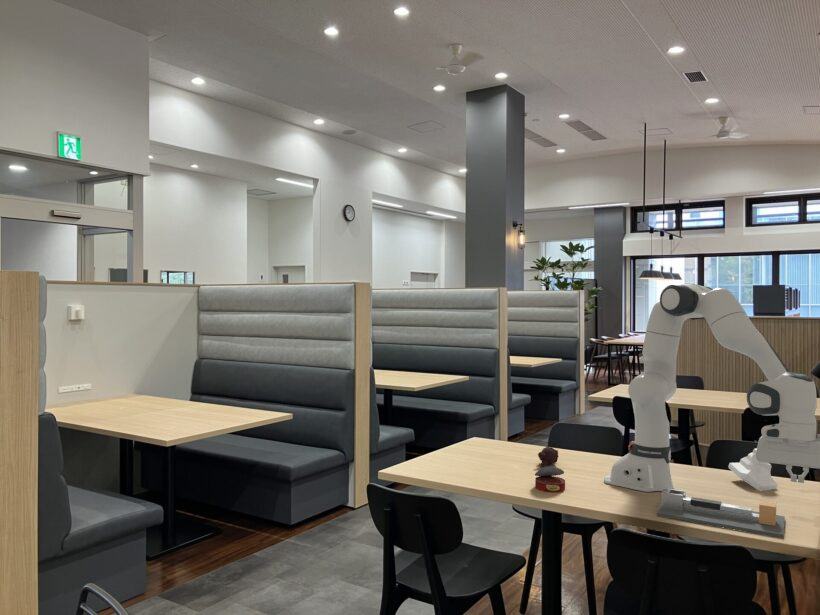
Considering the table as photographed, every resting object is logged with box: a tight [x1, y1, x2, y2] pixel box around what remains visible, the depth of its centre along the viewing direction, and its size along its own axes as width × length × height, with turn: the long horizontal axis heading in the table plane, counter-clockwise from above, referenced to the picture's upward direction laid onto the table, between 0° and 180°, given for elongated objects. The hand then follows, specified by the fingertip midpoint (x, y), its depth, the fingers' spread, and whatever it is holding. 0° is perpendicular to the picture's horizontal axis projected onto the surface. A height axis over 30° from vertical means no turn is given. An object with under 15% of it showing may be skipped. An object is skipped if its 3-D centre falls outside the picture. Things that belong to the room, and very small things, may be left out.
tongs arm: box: [683, 496, 753, 515], centre depth 189 cm, size 21×3×2 cm, turn 59°
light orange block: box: [758, 500, 777, 526], centre depth 181 cm, size 4×5×5 cm
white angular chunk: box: [727, 447, 779, 492], centre depth 223 cm, size 12×15×14 cm
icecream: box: [537, 446, 559, 468], centre depth 249 cm, size 7×7×15 cm
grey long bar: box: [660, 488, 776, 525], centre depth 188 cm, size 30×6×4 cm, turn 59°
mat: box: [656, 506, 786, 539], centre depth 188 cm, size 32×18×1 cm, turn 59°
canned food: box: [534, 466, 566, 493], centre depth 216 cm, size 11×10×10 cm
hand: (797, 481), depth 178 cm, fingers closed
